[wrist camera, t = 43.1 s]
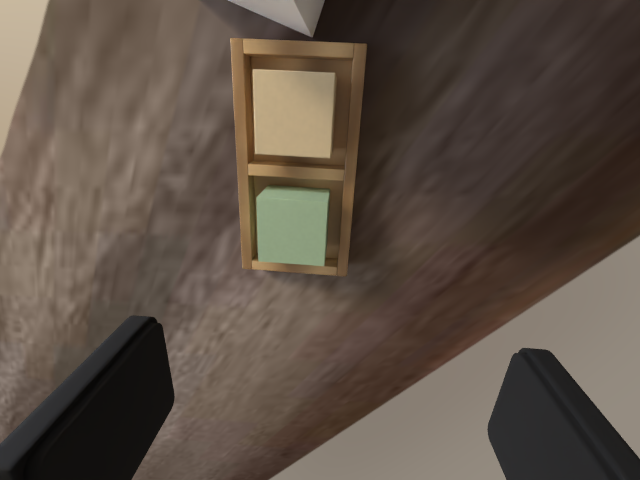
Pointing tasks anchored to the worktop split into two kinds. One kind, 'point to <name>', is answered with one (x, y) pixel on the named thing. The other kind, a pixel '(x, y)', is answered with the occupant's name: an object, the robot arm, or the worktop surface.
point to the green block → (293, 225)
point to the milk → (287, 12)
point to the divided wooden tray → (292, 169)
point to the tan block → (294, 113)
